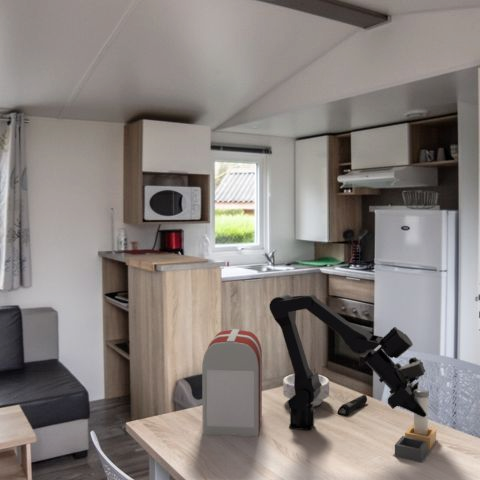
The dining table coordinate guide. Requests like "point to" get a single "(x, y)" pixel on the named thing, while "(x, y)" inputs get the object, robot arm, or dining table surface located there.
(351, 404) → the electric trimmer
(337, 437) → the dining table surface
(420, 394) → the plug
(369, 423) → the dining table surface
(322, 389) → the paper bowls
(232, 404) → the arched-top grey box
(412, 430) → the two-tone square organizer tray
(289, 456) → the dining table surface
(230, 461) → the dining table surface
